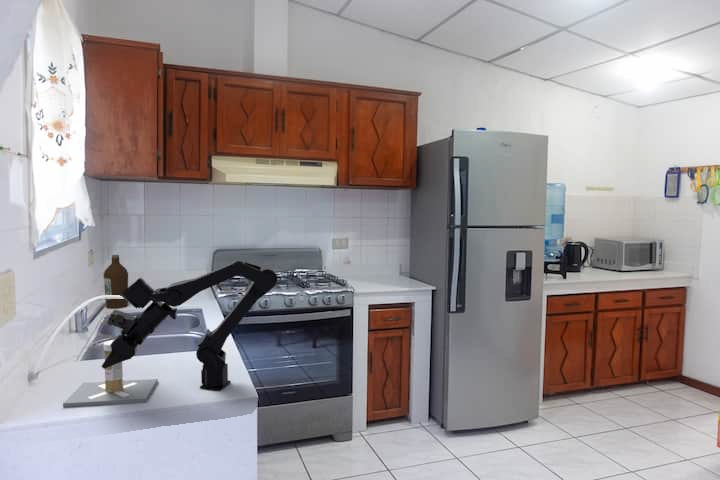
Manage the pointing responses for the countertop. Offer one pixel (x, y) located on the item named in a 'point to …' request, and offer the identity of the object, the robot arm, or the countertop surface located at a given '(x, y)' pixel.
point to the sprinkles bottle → (112, 372)
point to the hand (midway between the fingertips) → (107, 361)
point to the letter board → (111, 393)
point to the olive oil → (115, 283)
